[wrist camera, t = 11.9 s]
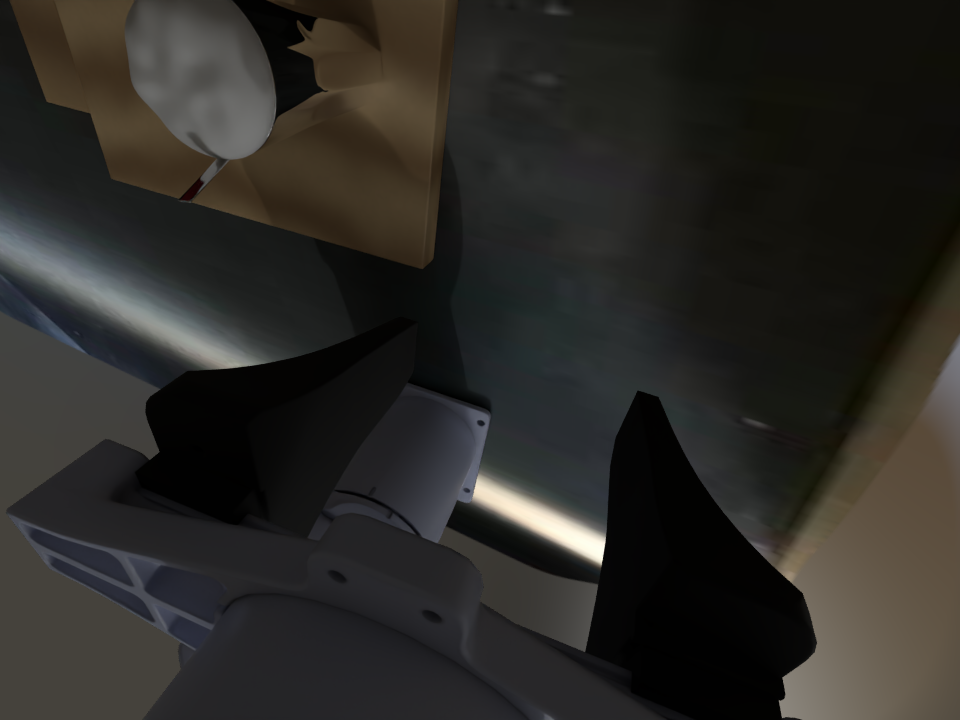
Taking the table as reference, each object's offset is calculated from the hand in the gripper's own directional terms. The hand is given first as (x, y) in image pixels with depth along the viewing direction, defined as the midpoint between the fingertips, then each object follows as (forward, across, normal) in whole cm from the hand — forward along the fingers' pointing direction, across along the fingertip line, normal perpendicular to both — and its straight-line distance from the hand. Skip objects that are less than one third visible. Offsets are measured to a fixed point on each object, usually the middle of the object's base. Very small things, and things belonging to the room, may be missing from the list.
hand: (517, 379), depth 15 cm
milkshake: (+9, +11, -6) cm, 15 cm away
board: (+10, +18, -4) cm, 22 cm away
